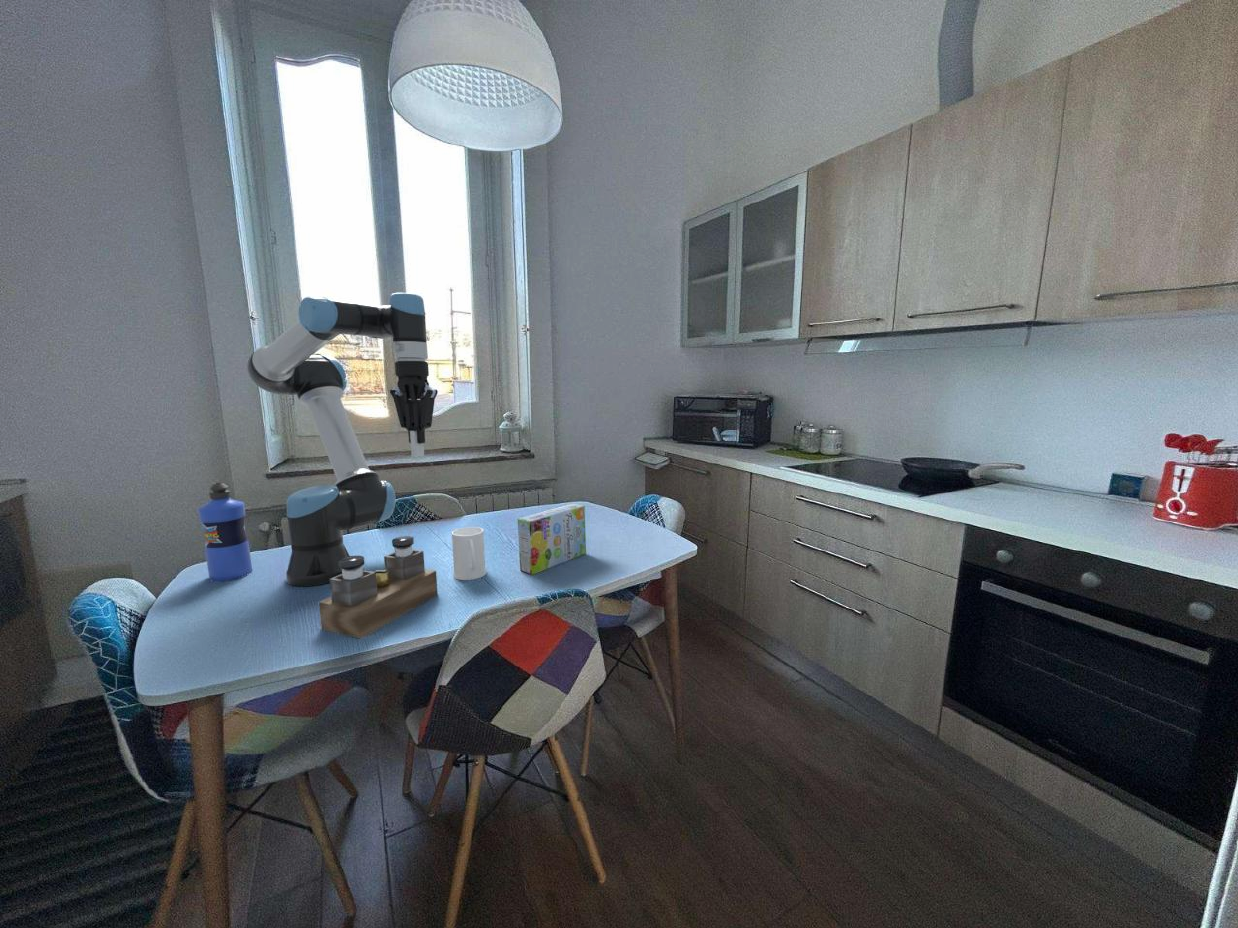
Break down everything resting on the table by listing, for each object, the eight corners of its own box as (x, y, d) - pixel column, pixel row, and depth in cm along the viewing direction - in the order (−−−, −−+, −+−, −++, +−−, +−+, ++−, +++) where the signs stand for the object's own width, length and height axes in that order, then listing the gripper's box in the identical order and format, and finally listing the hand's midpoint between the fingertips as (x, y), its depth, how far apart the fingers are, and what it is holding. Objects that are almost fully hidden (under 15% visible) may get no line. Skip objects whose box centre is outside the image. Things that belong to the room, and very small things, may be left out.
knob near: (336, 596, 100) (333, 561, 99) (355, 588, 104) (352, 554, 103) (353, 600, 98) (350, 564, 97) (372, 591, 102) (369, 557, 101)
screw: (371, 588, 106) (370, 573, 106) (378, 582, 109) (377, 568, 109) (385, 588, 106) (384, 573, 106) (391, 582, 109) (390, 568, 109)
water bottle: (224, 583, 123) (210, 488, 119) (199, 578, 126) (185, 485, 122) (261, 570, 132) (249, 481, 128) (237, 566, 135) (225, 478, 131)
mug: (489, 582, 124) (487, 537, 122) (454, 587, 121) (451, 541, 119) (485, 566, 135) (483, 525, 133) (452, 570, 132) (450, 528, 130)
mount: (321, 629, 100) (316, 579, 99) (402, 587, 121) (398, 545, 119) (361, 638, 97) (356, 586, 95) (437, 594, 117) (434, 550, 115)
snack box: (573, 550, 148) (572, 502, 146) (586, 554, 145) (586, 505, 142) (518, 570, 132) (516, 517, 130) (532, 575, 128) (530, 521, 126)
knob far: (390, 572, 113) (387, 541, 112) (404, 565, 117) (402, 535, 116) (405, 575, 111) (403, 543, 110) (420, 567, 115) (417, 537, 114)
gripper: (378, 360, 116) (386, 457, 120) (421, 359, 112) (428, 459, 116) (402, 361, 123) (408, 453, 127) (443, 360, 119) (449, 455, 123)
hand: (418, 456), depth 121 cm, fingers closed
